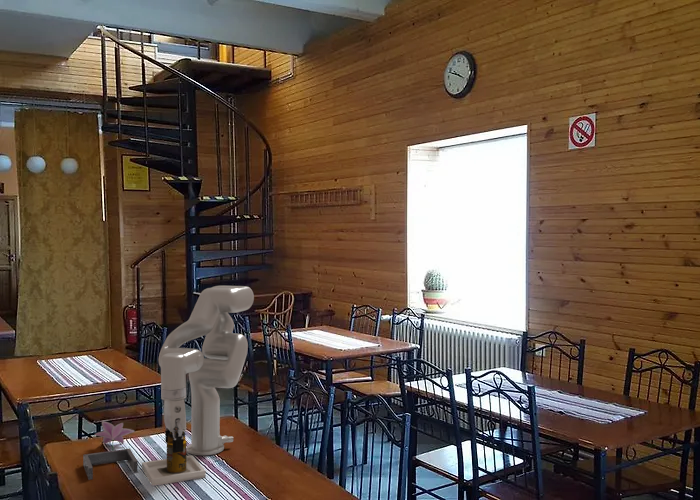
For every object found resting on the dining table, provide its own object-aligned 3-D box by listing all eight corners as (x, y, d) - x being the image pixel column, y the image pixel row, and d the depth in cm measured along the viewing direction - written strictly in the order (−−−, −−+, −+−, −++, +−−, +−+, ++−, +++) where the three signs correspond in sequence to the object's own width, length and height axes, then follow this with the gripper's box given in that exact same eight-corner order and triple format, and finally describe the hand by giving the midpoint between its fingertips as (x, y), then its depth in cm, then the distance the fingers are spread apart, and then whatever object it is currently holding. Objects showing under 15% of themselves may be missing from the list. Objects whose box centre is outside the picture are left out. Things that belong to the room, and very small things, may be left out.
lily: (138, 448, 236) (136, 421, 240) (119, 445, 225) (118, 416, 229) (108, 456, 238) (107, 430, 242) (88, 453, 227) (87, 425, 231)
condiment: (190, 472, 209) (190, 433, 208) (163, 477, 204) (163, 438, 204) (183, 465, 215) (183, 427, 215) (156, 469, 210) (156, 431, 210)
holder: (129, 458, 222) (129, 448, 222) (137, 472, 210) (137, 461, 210) (83, 465, 215) (83, 454, 215) (88, 479, 203) (88, 468, 203)
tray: (192, 461, 220) (192, 455, 220) (205, 477, 206) (205, 470, 206) (142, 468, 213) (142, 462, 213) (152, 486, 199) (152, 479, 199)
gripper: (192, 398, 203) (193, 453, 204) (179, 385, 218) (179, 437, 219) (167, 401, 199) (168, 458, 200) (155, 388, 215) (156, 440, 216)
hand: (174, 447), depth 210 cm, fingers open, 9 cm apart
